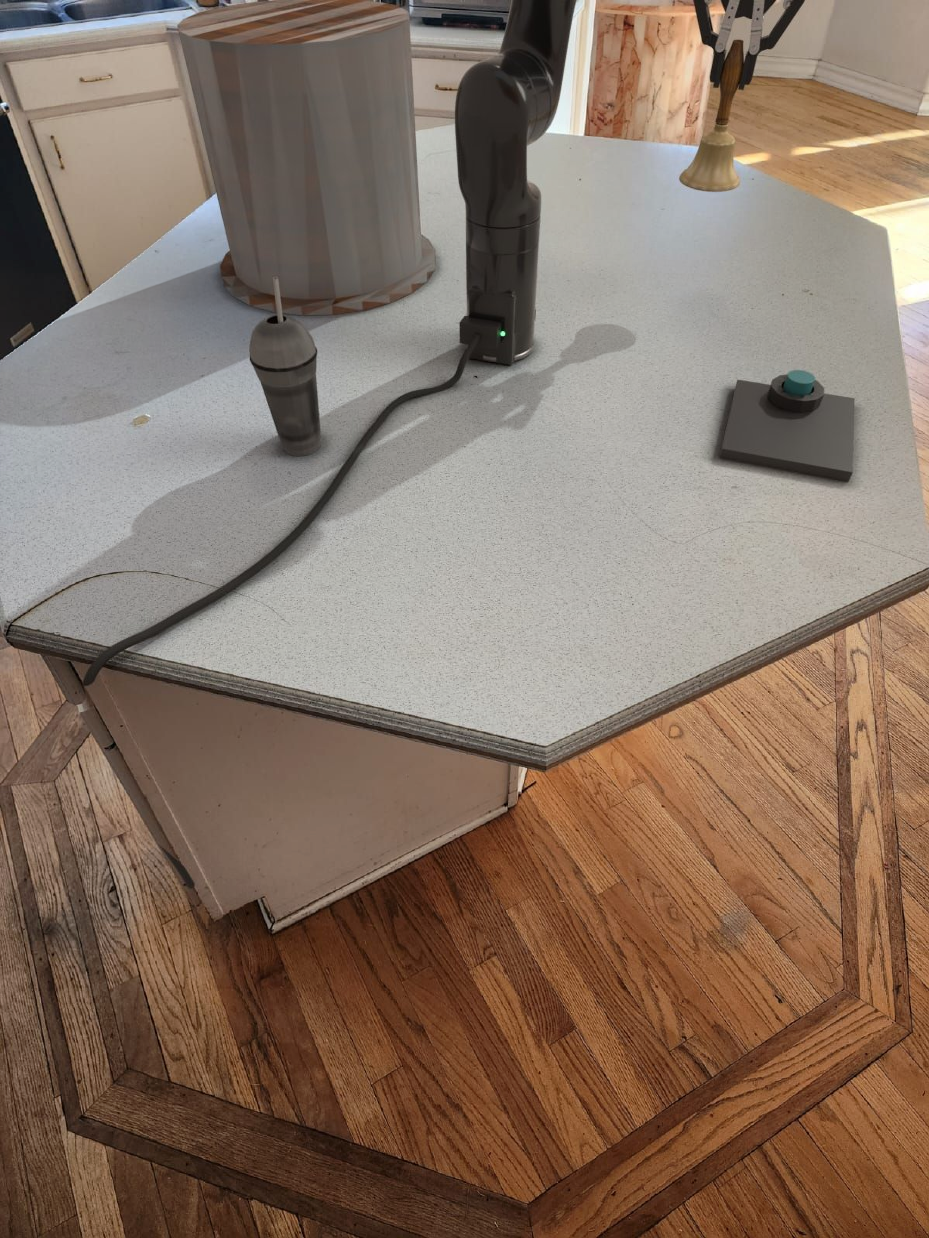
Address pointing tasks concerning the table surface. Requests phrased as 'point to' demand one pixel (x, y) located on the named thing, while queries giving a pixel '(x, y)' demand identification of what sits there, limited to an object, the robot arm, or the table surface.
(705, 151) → the hand bell
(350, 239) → the storage basket
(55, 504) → the table surface
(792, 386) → the button
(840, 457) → the scale
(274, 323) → the beverage cup
